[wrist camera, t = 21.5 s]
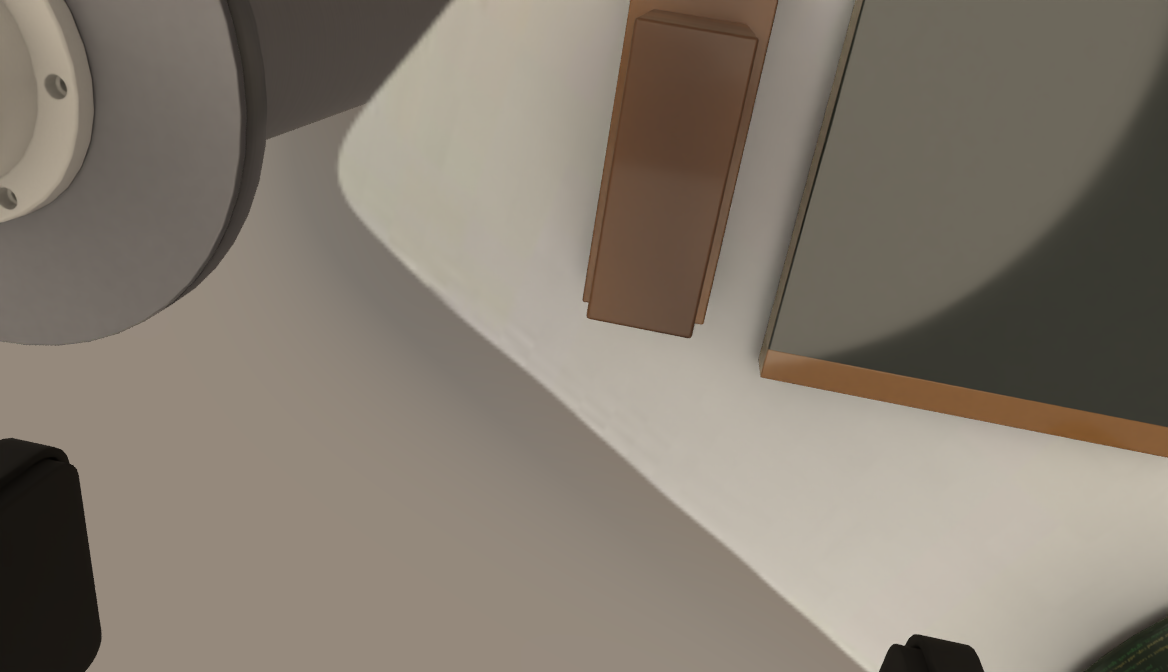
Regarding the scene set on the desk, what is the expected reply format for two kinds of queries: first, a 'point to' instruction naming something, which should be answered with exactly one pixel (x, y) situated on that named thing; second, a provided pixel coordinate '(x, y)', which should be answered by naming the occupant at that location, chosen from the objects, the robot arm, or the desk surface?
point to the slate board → (990, 219)
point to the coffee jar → (1138, 652)
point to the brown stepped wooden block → (674, 158)
